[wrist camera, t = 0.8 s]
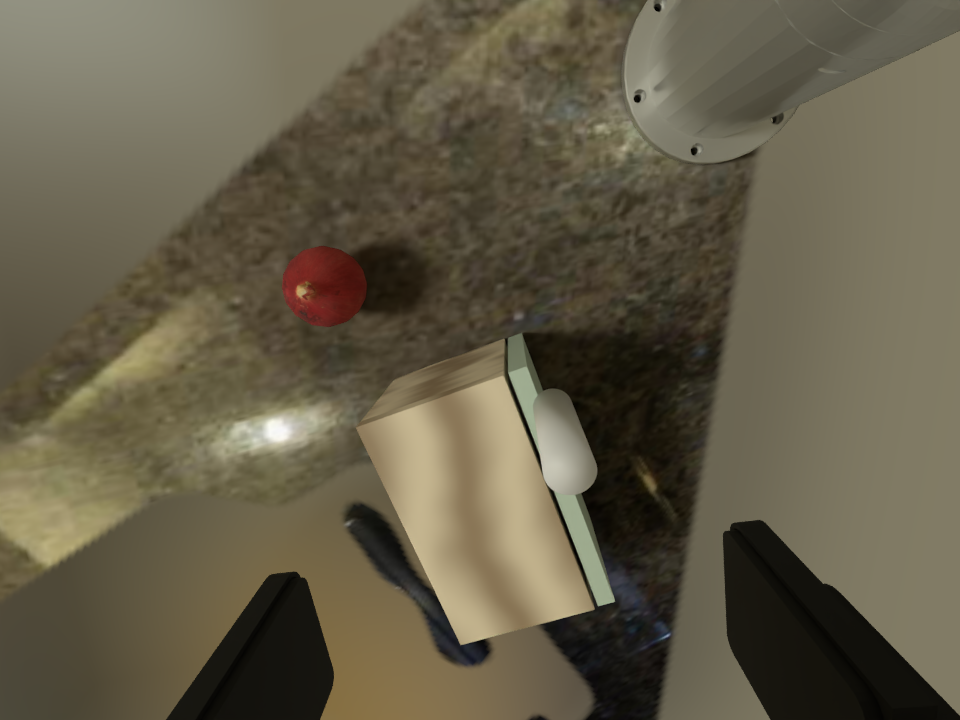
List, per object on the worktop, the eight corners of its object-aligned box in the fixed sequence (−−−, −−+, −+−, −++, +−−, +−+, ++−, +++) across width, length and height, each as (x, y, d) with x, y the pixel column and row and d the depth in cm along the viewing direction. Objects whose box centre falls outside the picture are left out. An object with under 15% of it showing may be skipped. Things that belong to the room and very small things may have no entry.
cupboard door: (542, 325, 37) (574, 402, 19) (609, 510, 41) (684, 712, 23) (507, 338, 37) (508, 425, 20) (576, 520, 41) (627, 725, 24)
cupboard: (504, 338, 37) (503, 375, 27) (573, 519, 41) (594, 609, 31) (395, 378, 39) (355, 427, 29) (471, 549, 43) (460, 644, 33)
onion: (358, 330, 38) (319, 353, 30) (297, 294, 38) (242, 308, 30) (390, 270, 37) (359, 278, 29) (327, 231, 36) (278, 230, 28)
